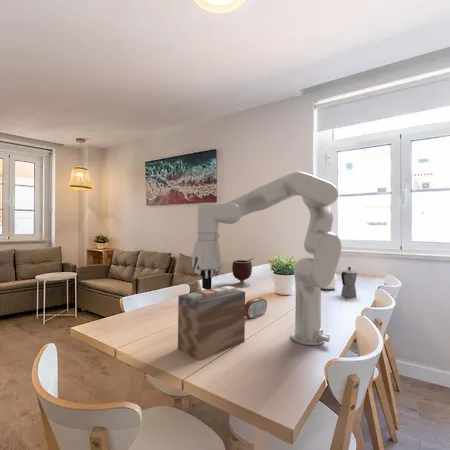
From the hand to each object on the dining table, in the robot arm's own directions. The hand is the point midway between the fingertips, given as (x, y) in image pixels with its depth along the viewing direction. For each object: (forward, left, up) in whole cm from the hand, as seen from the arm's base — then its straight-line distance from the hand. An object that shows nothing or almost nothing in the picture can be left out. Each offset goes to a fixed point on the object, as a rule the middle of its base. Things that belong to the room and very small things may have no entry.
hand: (206, 288), depth 105 cm
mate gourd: (+59, -85, -22) cm, 106 cm away
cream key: (0, -11, -4) cm, 12 cm away
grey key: (0, -6, -4) cm, 7 cm away
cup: (+15, -122, -22) cm, 125 cm away
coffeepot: (-4, -112, -22) cm, 114 cm away
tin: (+10, -40, -22) cm, 46 cm away
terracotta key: (0, 0, -4) cm, 4 cm away
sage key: (0, +5, -4) cm, 6 cm away
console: (0, -3, -21) cm, 21 cm away
